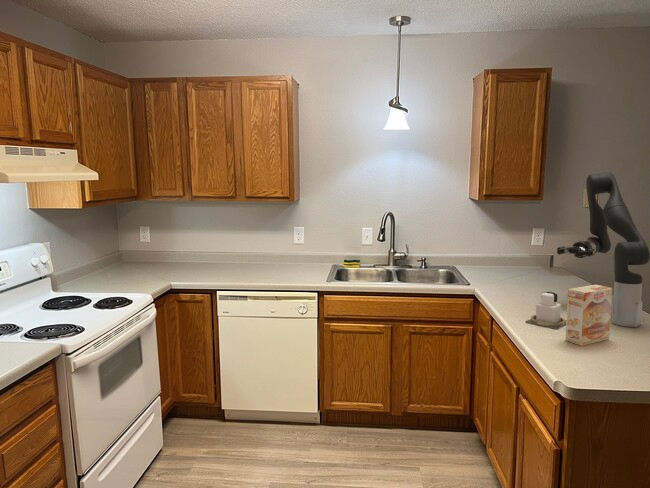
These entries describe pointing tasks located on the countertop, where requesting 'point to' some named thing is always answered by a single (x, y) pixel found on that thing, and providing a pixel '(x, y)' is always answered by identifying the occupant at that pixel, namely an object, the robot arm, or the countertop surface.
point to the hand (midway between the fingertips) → (568, 253)
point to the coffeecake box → (588, 314)
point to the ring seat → (548, 325)
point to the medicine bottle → (548, 308)
